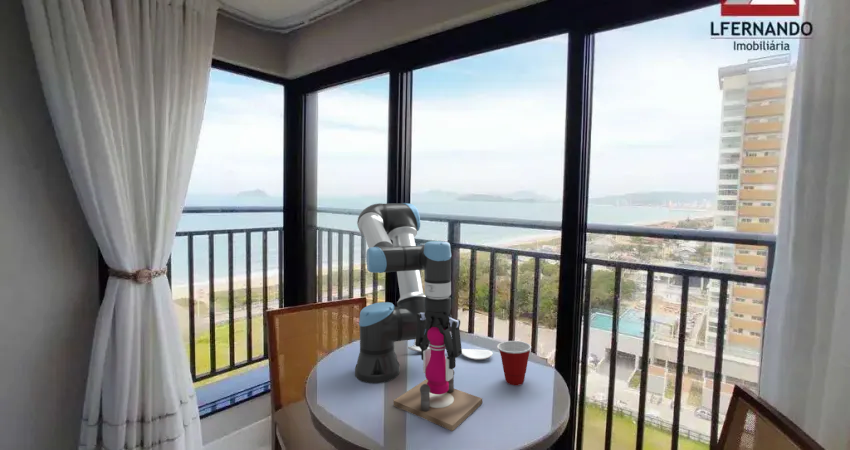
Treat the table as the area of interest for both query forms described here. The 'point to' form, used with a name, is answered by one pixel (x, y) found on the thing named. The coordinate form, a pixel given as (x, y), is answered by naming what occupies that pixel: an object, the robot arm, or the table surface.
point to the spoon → (465, 352)
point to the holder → (439, 404)
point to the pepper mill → (436, 363)
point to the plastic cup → (514, 360)
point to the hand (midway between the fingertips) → (438, 375)
